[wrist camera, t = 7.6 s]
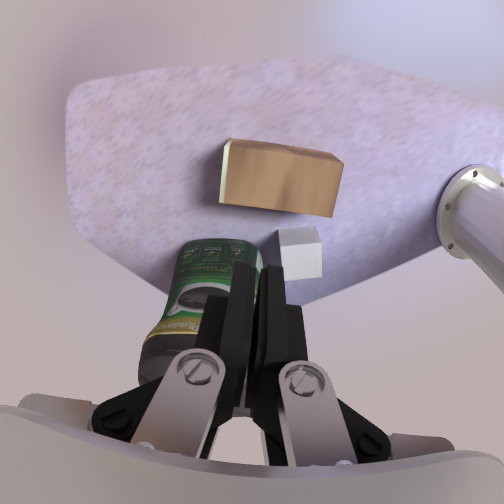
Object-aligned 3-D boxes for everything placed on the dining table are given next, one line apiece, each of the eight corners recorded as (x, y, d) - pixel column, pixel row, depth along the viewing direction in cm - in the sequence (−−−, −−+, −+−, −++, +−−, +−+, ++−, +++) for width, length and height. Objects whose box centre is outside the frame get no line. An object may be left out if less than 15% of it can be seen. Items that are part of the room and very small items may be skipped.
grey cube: (314, 225, 32) (321, 242, 29) (316, 257, 34) (322, 277, 31) (277, 229, 32) (280, 246, 29) (281, 261, 34) (283, 281, 31)
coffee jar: (185, 293, 37) (145, 424, 21) (177, 235, 33) (113, 364, 17) (264, 294, 37) (265, 434, 20) (264, 234, 33) (267, 376, 16)
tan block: (230, 138, 28) (331, 153, 28) (225, 186, 30) (321, 199, 31) (224, 145, 23) (344, 163, 24) (218, 202, 26) (331, 217, 26)
